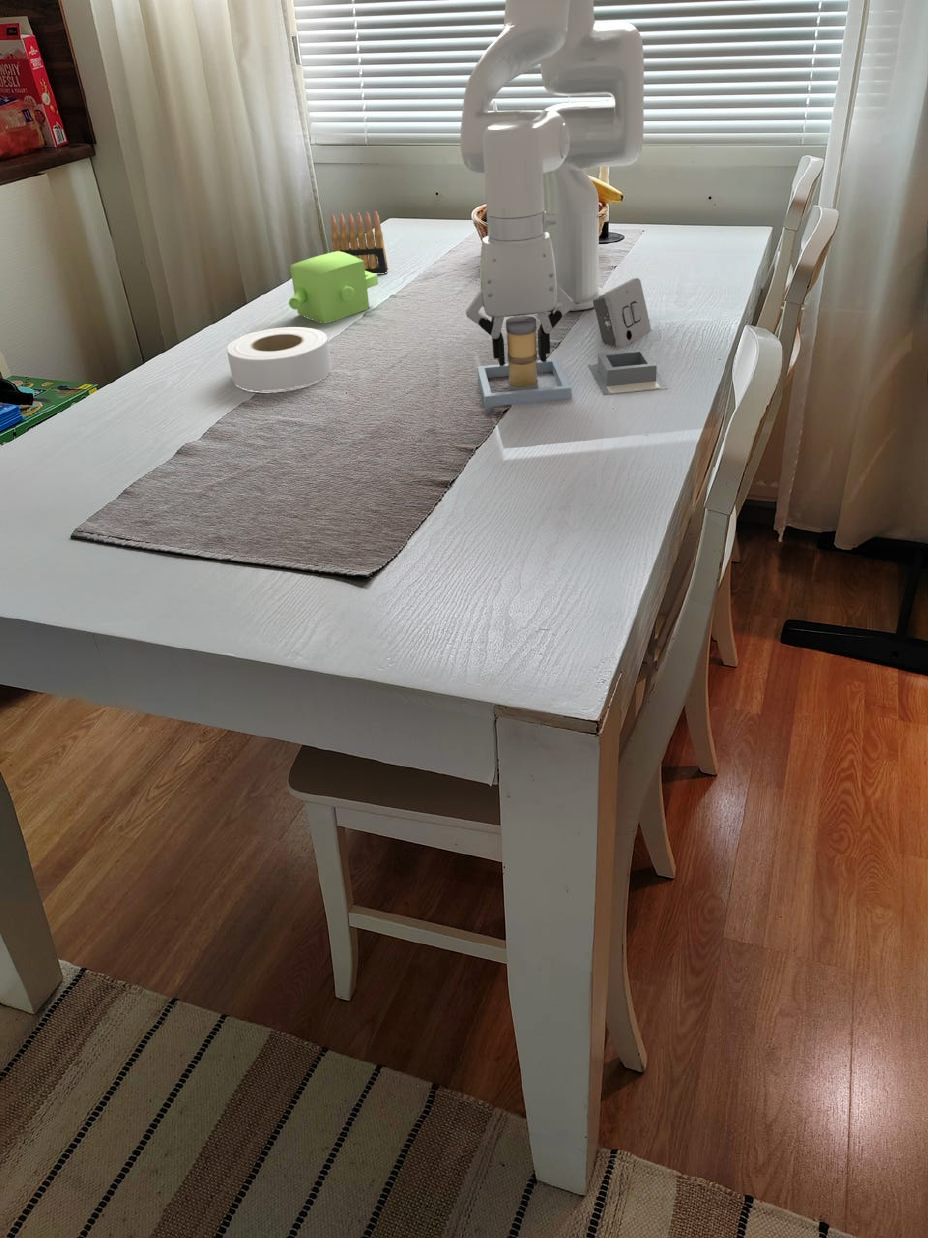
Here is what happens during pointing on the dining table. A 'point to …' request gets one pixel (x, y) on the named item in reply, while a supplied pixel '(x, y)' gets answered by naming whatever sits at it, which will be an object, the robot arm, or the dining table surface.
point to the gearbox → (330, 286)
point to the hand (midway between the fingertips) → (521, 359)
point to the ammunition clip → (361, 241)
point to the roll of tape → (279, 358)
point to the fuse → (522, 353)
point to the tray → (522, 395)
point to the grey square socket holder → (626, 372)
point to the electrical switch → (622, 314)
